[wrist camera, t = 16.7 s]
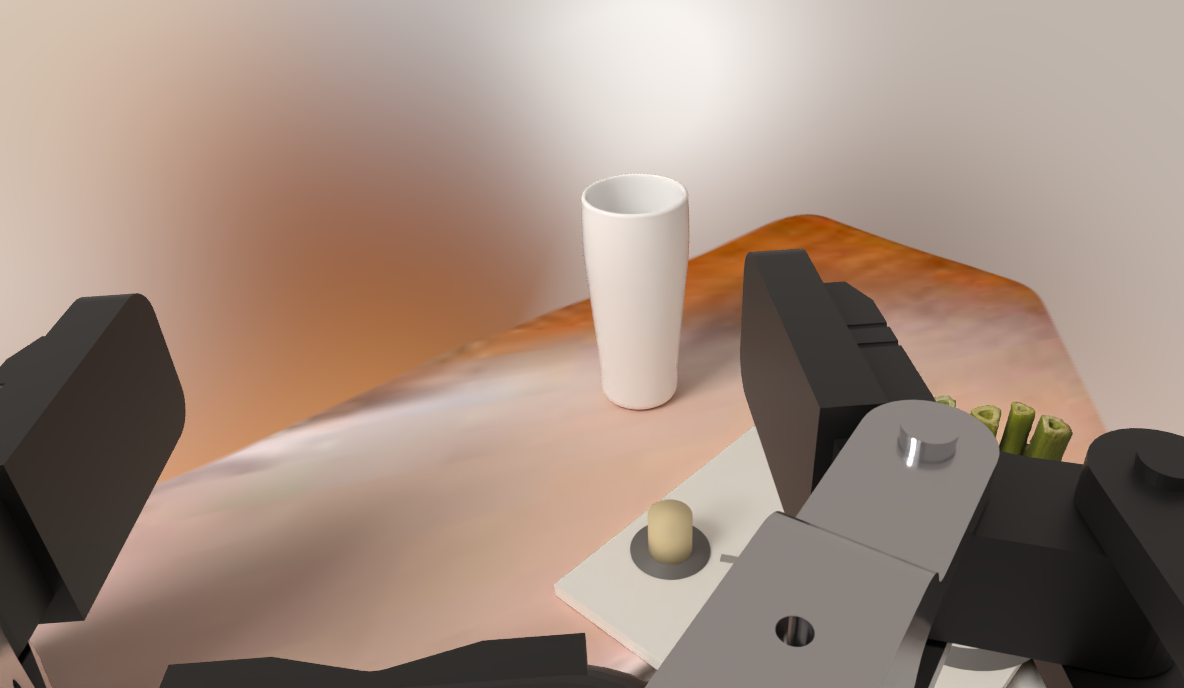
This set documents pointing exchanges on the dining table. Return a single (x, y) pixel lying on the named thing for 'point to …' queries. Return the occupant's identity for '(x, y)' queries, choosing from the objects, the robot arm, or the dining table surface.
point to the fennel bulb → (1023, 430)
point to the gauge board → (707, 565)
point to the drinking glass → (636, 283)
